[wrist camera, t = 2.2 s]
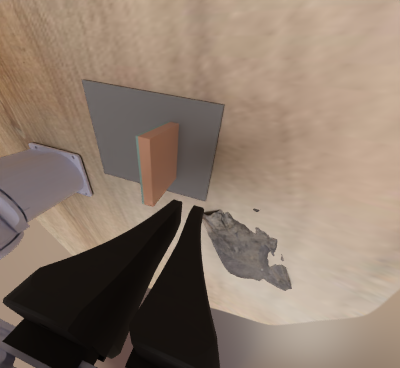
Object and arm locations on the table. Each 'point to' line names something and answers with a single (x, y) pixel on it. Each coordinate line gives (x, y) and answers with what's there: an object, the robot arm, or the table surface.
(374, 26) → the table surface
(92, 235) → the table surface
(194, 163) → the mat
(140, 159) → the tile
